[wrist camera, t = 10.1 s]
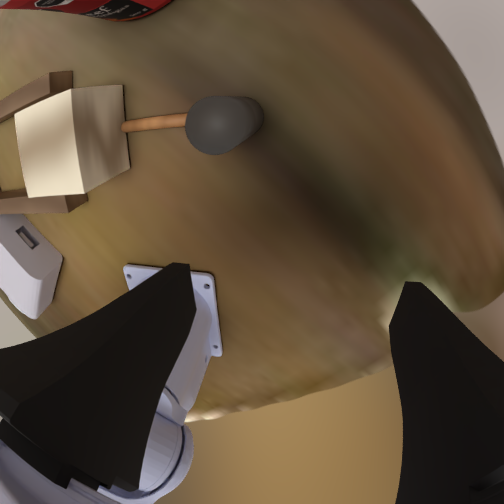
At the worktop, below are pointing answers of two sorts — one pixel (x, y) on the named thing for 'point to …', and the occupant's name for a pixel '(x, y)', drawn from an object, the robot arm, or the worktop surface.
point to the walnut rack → (9, 107)
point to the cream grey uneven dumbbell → (113, 135)
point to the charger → (27, 265)
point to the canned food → (91, 7)
